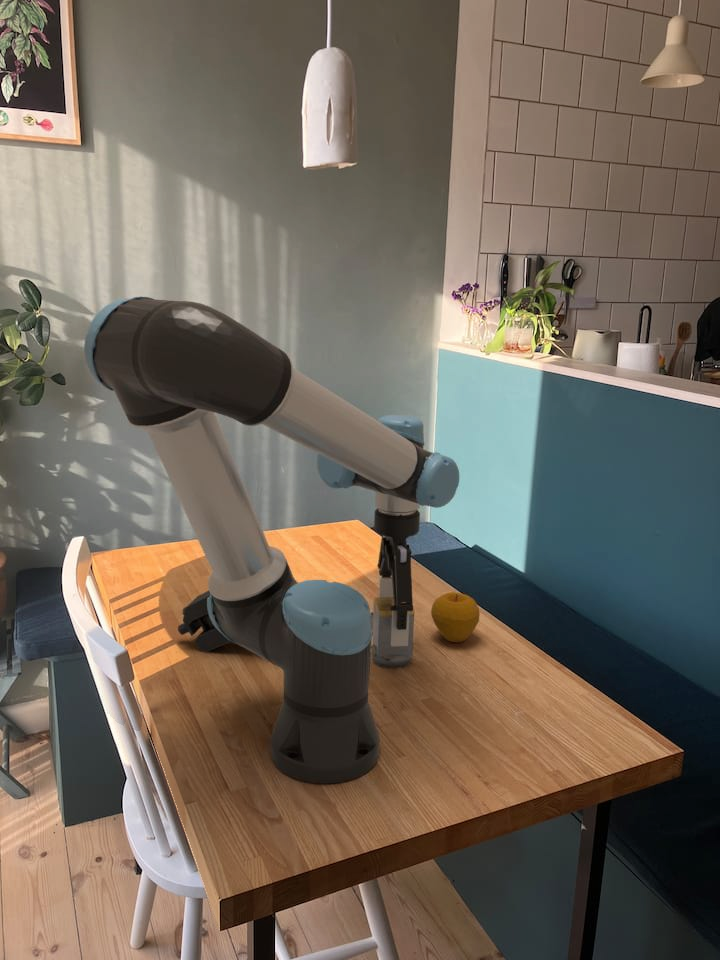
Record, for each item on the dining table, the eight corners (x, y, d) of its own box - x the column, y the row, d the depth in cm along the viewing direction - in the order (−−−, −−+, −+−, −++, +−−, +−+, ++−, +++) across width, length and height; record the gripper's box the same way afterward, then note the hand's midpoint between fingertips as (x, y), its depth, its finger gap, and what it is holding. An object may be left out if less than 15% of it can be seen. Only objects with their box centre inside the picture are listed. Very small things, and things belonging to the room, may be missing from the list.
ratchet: (415, 667, 137) (416, 629, 135) (374, 668, 136) (375, 630, 134) (395, 621, 155) (397, 587, 153) (359, 622, 154) (361, 588, 152)
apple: (420, 633, 150) (422, 588, 148) (459, 625, 154) (462, 581, 152) (446, 654, 142) (449, 606, 140) (488, 644, 146) (491, 598, 144)
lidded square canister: (412, 655, 137) (414, 610, 135) (377, 656, 136) (379, 611, 134) (405, 639, 143) (407, 596, 141) (372, 641, 142) (373, 597, 140)
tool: (295, 648, 136) (252, 572, 135) (203, 687, 142) (161, 614, 140) (304, 633, 142) (263, 560, 140) (216, 671, 148) (176, 601, 146)
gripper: (436, 532, 122) (429, 660, 127) (405, 489, 146) (400, 599, 151) (387, 532, 121) (382, 662, 126) (364, 489, 145) (361, 599, 150)
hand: (392, 627), depth 139 cm, fingers open, 13 cm apart
